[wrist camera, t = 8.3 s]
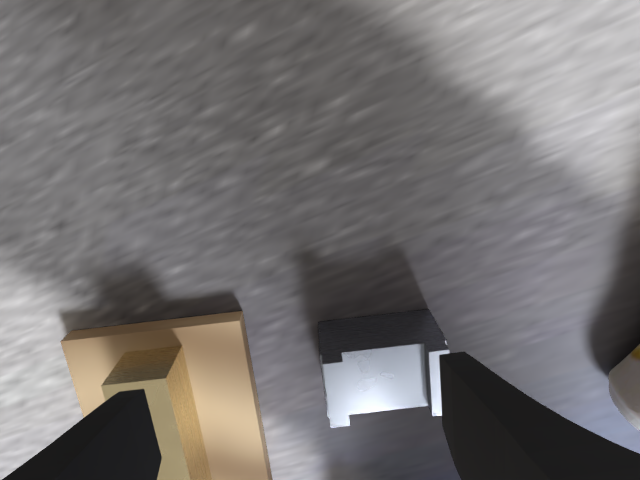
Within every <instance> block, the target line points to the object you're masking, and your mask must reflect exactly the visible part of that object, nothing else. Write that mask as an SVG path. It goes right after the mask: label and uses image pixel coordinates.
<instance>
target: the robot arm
mask: <svg viewBox="0 0 640 480" xmlns="http://www.w3.org/2000/svg"><path fill="white" fill-rule="evenodd" d="M439 362H440V383H441V404H442V425H443V429H444V432H445V436H446V439H447V442H448V445H449V449H450V452H451V455H452V458H453V461H454V464H455V466H456V469H457V471H458V473H459V475H460V478H461V480H640V454H639V453H636V452H634V451H631V450H629V449H627V448H624V447H622V446H620V445H618V444H615V443H613V442H611V441H609V440H607V439H605V438H603V437H601V436H599V435H597V434H595V433H593V432H591V431H589V430H587V429H585V428H583V427H581V426H579V425H577V424H575V423H573V422H571V421H569V420H568V419H566V418H564V417H562V416H561V415H559V414H557V413H555V412H554V411H552V410H550V409H549V408H547V407H545V406H544V405H542V404H540V403H539V402H537V401H535V400H534V399H532V398H531V397H529V396H528V395H526V394H524V393H523V392H521V391H520V390H518V389H517V388H515V387H514V386H512V385H511V384H509V383H508V382H507V381H505V380H504V379H502V378H501V377H499V376H498V375H497V374H495V373H494V372H492V371H491V370H490V369H488V368H487V367H485V366H484V365H483V364H481V363H480V362H478V361H477V360H476V359H474V358H473V357H471V356H470V355H468V354H467V353H465V352H458V353H450V354H441V355H439ZM161 460H162V456H161V452H160V449H159V445H158V441H157V437H156V433H155V429H154V425H153V421H152V417H151V413H150V410H149V406H148V402H147V398H146V394H145V390H144V389H137V390H128V391H119V392H118V393H116V394H115V395H113V396H112V397H110V398H109V399H108V400H106V401H105V402H104V403H102V404H101V405H100V406H98V407H97V408H96V409H95V410H93V411H92V412H91V413H89V414H88V415H87V416H86V417H84V418H83V419H82V420H81V421H79V422H78V423H77V424H75V425H74V426H73V427H72V428H70V429H69V430H68V431H67V432H65V433H64V434H63V435H61V436H60V437H59V438H58V439H56V440H55V441H54V442H53V443H51V444H50V445H49V446H47V447H46V448H45V449H43V450H42V451H41V452H39V453H38V454H37V455H35V456H34V457H32V458H31V459H30V460H28V461H27V462H26V463H24V464H23V465H22V466H20V467H19V468H17V469H16V470H15V471H13V472H12V473H11V474H9V475H8V476H7V477H5V478H4V479H2V480H157V477H158V473H159V468H160V464H161Z"/></svg>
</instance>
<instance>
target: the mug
mask: <svg viewBox="0 0 640 480" xmlns="http://www.w3.org/2000/svg"><path fill="white" fill-rule="evenodd" d="M609 392H610V396H611V398H612V401H613V403H614V404H615V406H616V407H617V408H618V410H619V411H620V413H621V414H622V415H623V416H624V417H625V419H626V420H627V421H628V422H629V423H630V424H631V425H633V426H634V427H635V428H636V429H637V430H639V431H640V344H639V345H638V346H637V347H636V348H635V349H634V350H633V351H632V352H631V353H630V354H629V355H628V356H627V357H626V358H625V359H623V360H622V361H621V362H620V363H619V364H618V365H616V366H615V367H614V368H613V369H612V370H611V371H610V373H609Z"/></svg>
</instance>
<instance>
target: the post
mask: <svg viewBox="0 0 640 480" xmlns="http://www.w3.org/2000/svg"><path fill="white" fill-rule="evenodd" d="M318 331H319V352H320V362H321V370H322V377H323V385H324V393H325V400H326V408H327V416H328V417H329V418H330V426H331V428H335V427H344V426H350V420H349V415H353V414H361V413H370V412H379V411H388V410H396V409H405V408H414V407H423V406H428V407H429V409H430V412H431V414H432V416H440V415H442V404H441V383H440V362H439V355H441V354H449V349H448V347H447V340H446V339H445V337H444V335H443V333H442V332H441V330H440V328H439V326H438V325H437V323H436V321H435V319H434V317H433V316H432V314H431V312H430V310H429V309H426V310H417V311H408V312H400V313H391V314H382V315H374V316H365V317H357V318H348V319H339V320H331V321H322V322H318Z"/></svg>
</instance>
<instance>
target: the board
mask: <svg viewBox="0 0 640 480" xmlns="http://www.w3.org/2000/svg"><path fill="white" fill-rule="evenodd" d="M61 344H62V348H63V351H64V354H65V357H66V361H67V364H68V367H69V371H70V374H71V377H72V380H73V384H74V387H75V390H76V393H77V397H78V400H79V403H80V407H81V410H82V413H83V416H84V417H86V416H87V415H88V414H89V413H91V412H92V411H93V410H95V409H96V408H97V407H98V406H100V405H101V404H102V403H104V402H105V398H104V395H103V391H102V388H101V385H102V384H103V382H104V381H105V379H106V378H107V377H108V375H109V374H110V372H111V371H112V370H113V368H114V367H115V365H116V364H117V362H118V361H119V360H120V358H121V357H122V355H123V354H124V353H125V352H130V351H139V350H148V349H156V348H165V347H174V346H183V351H184V355H185V360H186V364H187V369H188V373H189V378H190V382H191V387H192V391H193V396H194V400H195V405H196V409H197V414H198V418H199V423H200V427H201V432H202V436H203V441H204V445H205V450H206V454H207V459H208V463H209V468H210V472H211V477H212V480H272V475H271V469H270V463H269V458H268V452H267V446H266V441H265V435H264V429H263V424H262V418H261V413H260V407H259V401H258V396H257V390H256V384H255V379H254V373H253V368H252V362H251V356H250V351H249V345H248V339H247V334H246V328H245V322H244V317H243V311H238V312H229V313H220V314H212V315H203V316H195V317H186V318H177V319H169V320H160V321H152V322H143V323H134V324H126V325H117V326H109V327H100V328H91V329H83V330H74V331H71V332H70V333H69V334H68V335H67V336H66V337H65V338H64V339H63V340H62V341H61Z"/></svg>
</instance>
